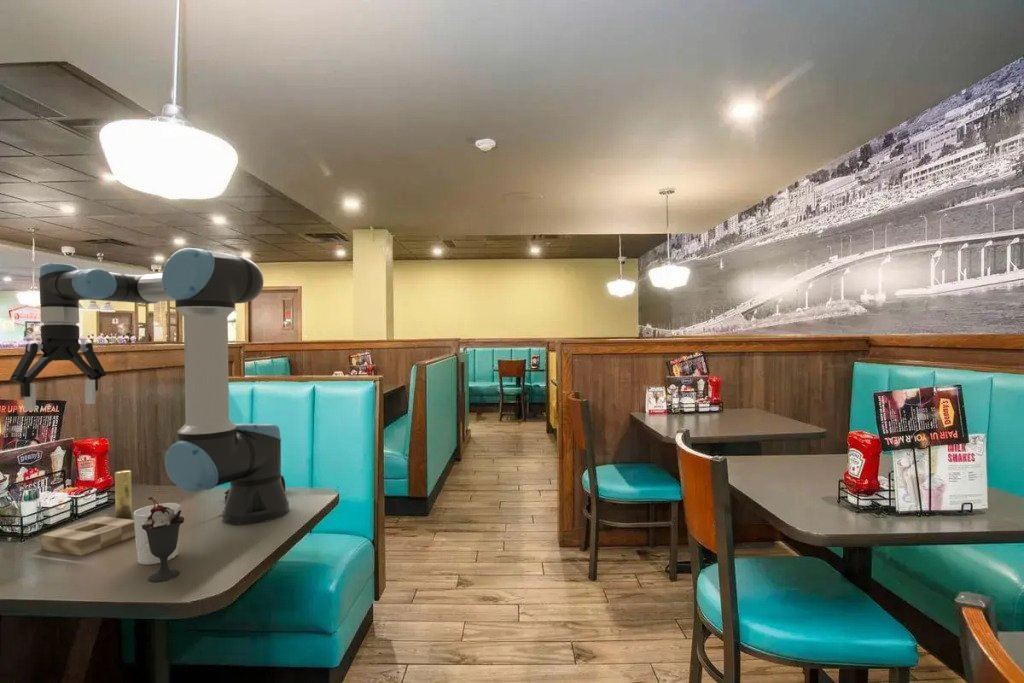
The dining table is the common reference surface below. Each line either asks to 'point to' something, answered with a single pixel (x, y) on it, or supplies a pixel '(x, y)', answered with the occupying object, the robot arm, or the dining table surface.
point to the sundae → (163, 538)
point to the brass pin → (123, 494)
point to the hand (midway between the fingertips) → (61, 407)
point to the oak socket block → (88, 535)
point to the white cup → (141, 534)
